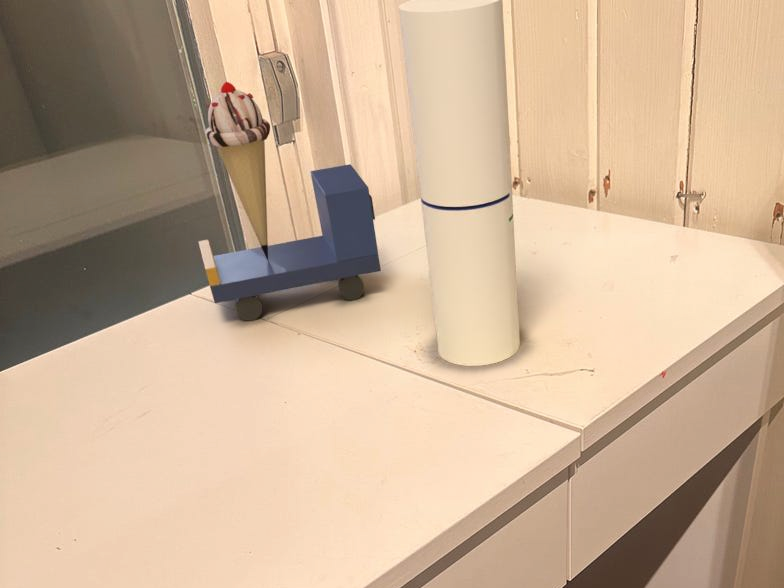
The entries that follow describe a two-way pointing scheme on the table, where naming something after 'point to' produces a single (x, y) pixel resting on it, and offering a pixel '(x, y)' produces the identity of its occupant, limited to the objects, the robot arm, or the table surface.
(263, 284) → the flatbed truck
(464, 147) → the cylindrical container
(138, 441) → the table surface
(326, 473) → the table surface
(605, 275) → the table surface
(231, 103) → the ice cream cone
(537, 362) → the table surface
